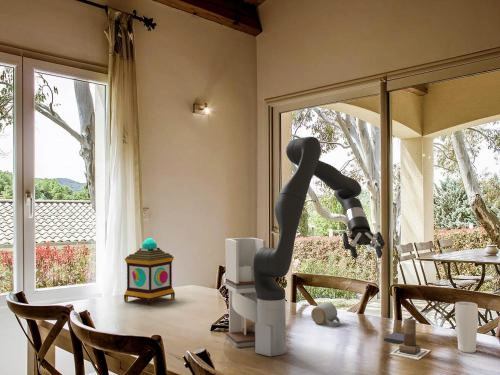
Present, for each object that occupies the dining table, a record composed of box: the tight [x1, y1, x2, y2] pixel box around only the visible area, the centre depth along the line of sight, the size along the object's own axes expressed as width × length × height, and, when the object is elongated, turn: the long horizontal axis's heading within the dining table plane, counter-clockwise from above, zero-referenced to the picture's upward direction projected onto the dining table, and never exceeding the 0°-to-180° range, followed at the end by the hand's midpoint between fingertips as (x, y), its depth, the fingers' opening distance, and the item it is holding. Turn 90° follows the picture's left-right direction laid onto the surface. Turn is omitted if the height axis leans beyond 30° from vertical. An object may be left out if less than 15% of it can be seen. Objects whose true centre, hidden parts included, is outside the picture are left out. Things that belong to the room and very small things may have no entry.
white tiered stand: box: [224, 237, 267, 348], centre depth 171 cm, size 11×11×35 cm
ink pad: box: [383, 332, 404, 345], centre depth 171 cm, size 9×7×1 cm
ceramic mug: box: [310, 301, 341, 327], centre depth 193 cm, size 11×8×8 cm
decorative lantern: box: [123, 237, 176, 306], centre depth 238 cm, size 20×20×30 cm
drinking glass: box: [454, 301, 479, 354], centre depth 158 cm, size 7×7×15 cm
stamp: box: [398, 318, 422, 355], centre depth 157 cm, size 5×5×10 cm
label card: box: [389, 347, 432, 361], centre depth 157 cm, size 11×9×1 cm
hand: (368, 257), depth 171 cm, fingers open, 8 cm apart
